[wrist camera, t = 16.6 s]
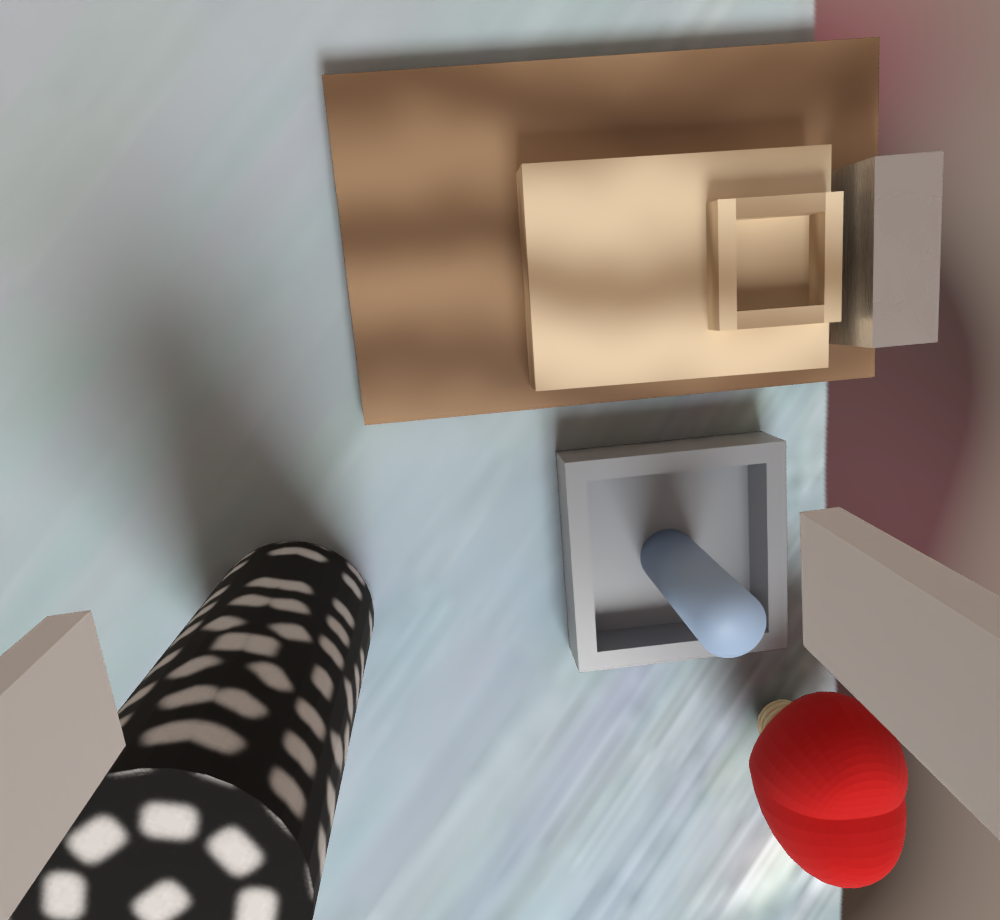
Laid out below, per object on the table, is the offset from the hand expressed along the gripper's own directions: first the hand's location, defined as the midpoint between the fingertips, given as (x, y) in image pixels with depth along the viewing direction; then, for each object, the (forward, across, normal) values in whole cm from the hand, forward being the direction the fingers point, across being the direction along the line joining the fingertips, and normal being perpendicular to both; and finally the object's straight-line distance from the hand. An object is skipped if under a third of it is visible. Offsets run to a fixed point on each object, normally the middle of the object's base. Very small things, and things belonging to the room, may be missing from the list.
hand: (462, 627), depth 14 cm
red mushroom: (+25, +16, -20) cm, 36 cm away
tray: (+25, +11, -9) cm, 29 cm away
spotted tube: (+26, -9, -10) cm, 29 cm away
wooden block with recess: (+25, +11, +5) cm, 28 cm away
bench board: (+26, +9, +7) cm, 28 cm away
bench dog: (+25, +21, +5) cm, 32 cm away
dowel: (+25, +11, -9) cm, 29 cm away
